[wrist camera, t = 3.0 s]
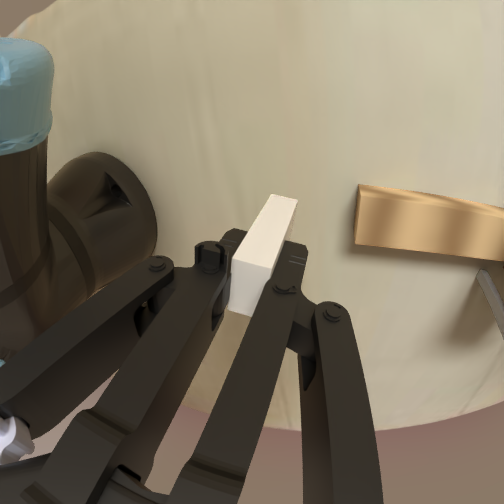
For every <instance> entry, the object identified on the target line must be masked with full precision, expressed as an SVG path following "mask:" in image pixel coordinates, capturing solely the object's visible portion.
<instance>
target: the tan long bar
mask: <svg viewBox="0 0 504 504" xmlns="http://www.w3.org/2000/svg"><path fill="white" fill-rule="evenodd" d="M354 238H355V244H360V245H370V246H379V247H388V248H397V249H406V250H415V251H424V252H432V253H441V254H449V255H457V256H465V257H473V258H481V259H489V260H496V261H504V208H500V207H496V206H492V205H487V204H482V203H478V202H473V201H468V200H462V199H457V198H452V197H446V196H440V195H434V194H428V193H422V192H415V191H408V190H401V189H394V188H386V187H377V186H369V185H359V184H358V195H357V205H356V214H355V222H354Z"/></svg>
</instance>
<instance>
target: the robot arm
mask: <svg viewBox="0 0 504 504" xmlns="http://www.w3.org/2000/svg"><path fill="white" fill-rule="evenodd" d="M53 77H54V62H53V58H52V56H51V54H50V53H49V51H48V50H47V49H46V48H45V47H44V46H42V45H41V44H38V43H36V42H33V41H29V40H23V39H16V38H0V504H237V502H238V499H239V497H240V494H241V491H242V488H243V485H244V482H245V478H246V474H247V472H248V469H249V466H250V463H251V460H252V457H253V454H254V451H255V448H256V445H257V443H258V439H259V436H260V433H261V430H262V427H263V424H264V421H265V418H266V415H267V411H268V408H269V405H270V402H271V398H272V395H273V392H274V388H275V385H276V381H277V378H278V374H279V371H280V367H281V364H282V360H283V357H284V353H285V349H286V347H287V348H289V349H291V350H293V351H294V352H296V353H298V371H299V388H300V406H301V429H302V457H303V504H384V503H383V492H382V483H381V474H380V466H379V459H378V451H377V444H376V438H375V431H374V425H373V419H372V414H371V408H370V403H369V398H368V393H367V388H366V383H365V378H364V373H363V369H362V364H361V360H360V355H359V351H358V347H357V343H356V339H355V334H354V330H353V327H352V323H351V319H350V315H349V313H348V311H347V310H346V309H345V308H344V307H343V306H342V305H340V304H338V303H335V302H331V301H327V302H322V303H320V304H318V305H316V304H315V303H313V302H311V301H310V300H308V299H307V298H306V297H305V296H304V295H303V293H302V291H301V283H302V279H303V274H304V270H305V265H306V261H307V256H308V250H307V248H306V246H305V245H302V244H298V243H294V242H290V241H289V240H290V235H291V230H292V226H293V221H294V216H295V211H296V207H297V202H298V200H295V199H291V198H287V197H283V196H278V195H274V194H271V196H270V197H269V199H268V201H267V202H266V204H265V205H264V207H263V209H262V210H261V212H260V213H259V215H258V217H257V218H256V220H255V222H254V223H253V225H252V226H251V228H250V230H249V231H248V232H247V231H243V230H239V229H235V228H233V229H231V230H230V231H228V232H226V233H225V234H224V236H223V237H222V239H221V240H220V241H219V242H216V241H204V242H201V243H198V244H197V245H196V246H195V264H194V266H193V267H188V268H184V267H174V264H173V261H172V260H171V259H170V258H168V257H165V256H152V257H150V255H151V254H152V252H153V250H154V247H155V243H156V237H157V225H156V218H155V214H154V210H153V207H152V204H151V201H150V199H149V196H148V194H147V192H146V190H145V189H144V187H143V185H142V184H141V182H140V181H139V179H138V178H137V177H136V175H135V174H134V173H133V172H132V171H131V170H130V169H129V168H128V167H127V166H126V165H125V164H124V163H122V162H121V161H120V160H118V159H117V158H115V157H113V156H111V155H108V154H105V153H101V152H90V153H86V154H84V155H81V156H79V157H77V158H75V159H73V160H71V161H69V162H68V163H67V164H65V165H64V166H63V167H62V168H61V169H60V170H59V172H58V173H57V174H56V175H55V176H54V177H53V178H52V179H51V180H50V181H49V183H48V184H47V143H48V134H49V132H50V129H51V125H52V112H51V109H50V106H51V95H52V85H53ZM108 284H109V285H108ZM106 285H107V286H106ZM104 286H106V287H104ZM102 287H104V288H103V289H102V290H100V291H99V292H97V293H96V294H95V295H93V296H92V297H90V296H91V295H92V294H93V293H94V292H95V291H96V290H98V289H100V288H102ZM89 297H90V298H89ZM88 298H89V299H88ZM87 299H88V300H87ZM144 302H145V303H144ZM143 303H144V304H143ZM227 303H228V310H230V311H233V312H237V313H240V314H244V315H247V316H250V317H252V318H251V320H250V323H249V325H248V328H247V330H246V332H245V335H244V337H243V340H242V342H241V344H240V347H239V349H238V352H237V354H236V356H235V359H234V361H233V363H232V366H231V368H230V370H229V373H228V375H227V378H226V380H225V382H224V385H223V387H222V389H221V391H220V394H219V396H218V398H217V401H216V403H215V405H214V408H213V410H212V412H211V414H210V417H209V419H208V421H207V423H206V426H205V428H204V430H203V432H202V435H201V437H200V440H199V441H198V444H197V446H196V448H195V450H194V453H193V455H192V456H191V458H190V459H189V460H188V462H186V464H185V465H184V467H183V468H182V470H181V472H180V474H179V476H178V478H177V480H176V482H175V484H174V487H173V488H172V491H171V493H170V495H165V494H160V493H155V492H152V491H151V490H150V489H148V488H147V487H145V486H144V484H145V482H146V480H147V478H148V476H149V474H150V472H151V470H152V467H153V461H154V456H155V453H156V451H157V449H158V447H159V445H160V443H161V441H162V439H163V437H164V435H165V433H166V431H167V429H168V427H169V425H170V423H171V421H172V419H173V418H174V416H175V413H176V411H177V410H178V407H179V406H180V404H181V402H182V400H183V398H184V396H185V394H186V392H187V390H188V388H189V386H190V384H191V382H192V380H193V378H194V376H195V374H196V372H197V370H198V368H199V366H200V364H201V362H202V360H203V358H204V356H205V354H206V352H207V350H208V348H209V346H210V344H211V342H212V340H213V338H214V336H215V334H216V332H217V330H218V328H219V326H220V324H221V322H222V320H223V317H224V309H225V307H226V305H227ZM119 368H120V369H119ZM118 369H119V370H118ZM117 370H118V372H117V373H116V374H115V376H114V377H113V379H112V380H111V382H110V383H109V385H108V387H107V388H106V389H105V391H104V393H103V394H102V396H101V397H100V399H99V400H98V402H97V403H96V405H95V406H94V407H92V408H91V409H86V410H82V411H81V412H79V413H78V414H77V415H76V416H75V417H74V418H73V420H72V421H71V423H70V424H69V426H68V427H67V429H66V430H65V432H64V434H63V435H62V437H61V438H60V440H59V442H58V443H57V445H56V446H55V448H54V450H53V451H52V453H48V454H45V455H41V456H37V457H34V458H30V459H26V460H22V461H19V459H20V458H21V457H22V456H23V455H25V454H32V453H33V452H34V448H35V446H34V443H33V441H32V440H33V439H35V438H38V437H40V436H42V435H43V434H45V433H47V432H48V431H50V430H51V429H52V428H54V427H55V426H56V425H57V424H59V423H60V422H61V421H62V420H63V419H64V418H65V417H66V416H67V415H68V414H70V412H72V411H73V410H74V409H75V408H76V407H77V406H78V405H79V404H81V403H82V402H83V401H84V400H85V399H86V398H87V397H88V396H89V395H90V394H92V392H94V391H95V390H96V389H97V388H98V387H99V386H100V385H101V384H102V383H103V382H105V381H106V380H107V379H108V378H109V377H110V376H111V375H112V374H114V373H115V372H116V371H117Z"/></svg>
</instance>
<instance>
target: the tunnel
mask: <svg viewBox="0 0 504 504" xmlns="http://www.w3.org/2000/svg"><path fill="white" fill-rule="evenodd" d="M476 278H477V280H478V282H479V284H480V286H481V288H482V290H483V292H484V294H485V296H486V298H487V300H488V303H489V305H490V307H491V309H492V312H493V314H494V316H495V319H496V321H497V323H498V326H499V328H500V331H501V334H502V336H503V339H504V303H503V301H502V299H501V297H500V295H499V293H498V291H497V289H496V287H495V285H494V283H493V281H492V280H491V278H490V276H489V274H488V272H487V271H485V270H482V269H480V271H479V272H478V274H477V276H476Z"/></svg>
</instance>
